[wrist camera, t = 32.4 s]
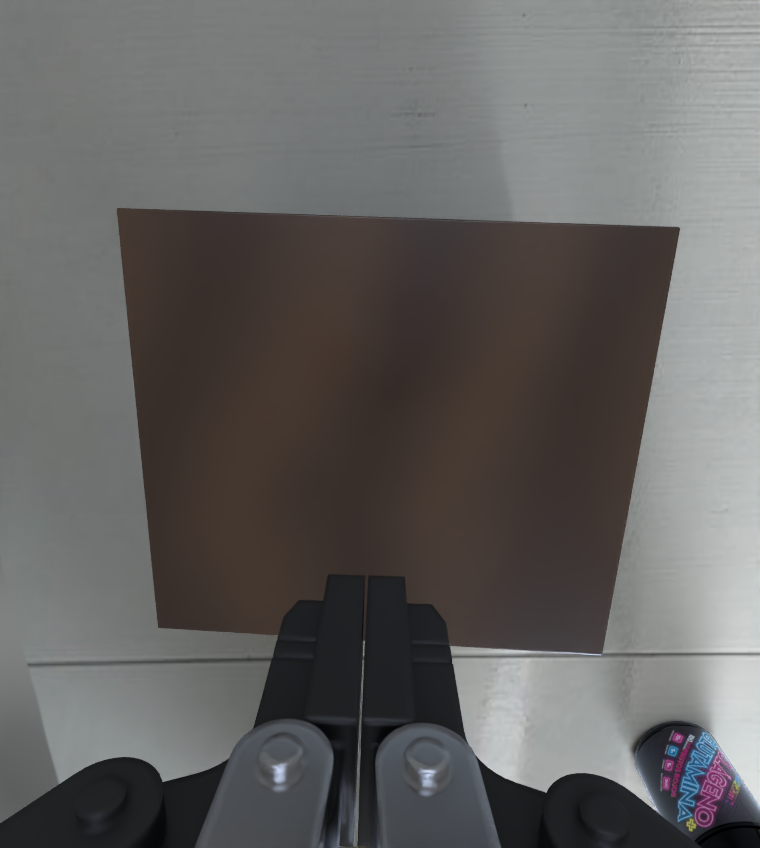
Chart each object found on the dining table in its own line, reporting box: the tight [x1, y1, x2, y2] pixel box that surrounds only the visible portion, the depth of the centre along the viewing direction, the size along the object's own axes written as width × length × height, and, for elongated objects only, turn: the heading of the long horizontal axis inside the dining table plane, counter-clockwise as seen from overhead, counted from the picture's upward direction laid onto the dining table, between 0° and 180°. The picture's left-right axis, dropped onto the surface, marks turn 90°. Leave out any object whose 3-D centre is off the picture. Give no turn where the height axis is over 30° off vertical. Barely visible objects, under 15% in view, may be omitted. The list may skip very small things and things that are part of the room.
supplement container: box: [635, 721, 760, 848], centre depth 42 cm, size 7×7×10 cm
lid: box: [117, 208, 680, 655], centre depth 20 cm, size 17×16×1 cm
